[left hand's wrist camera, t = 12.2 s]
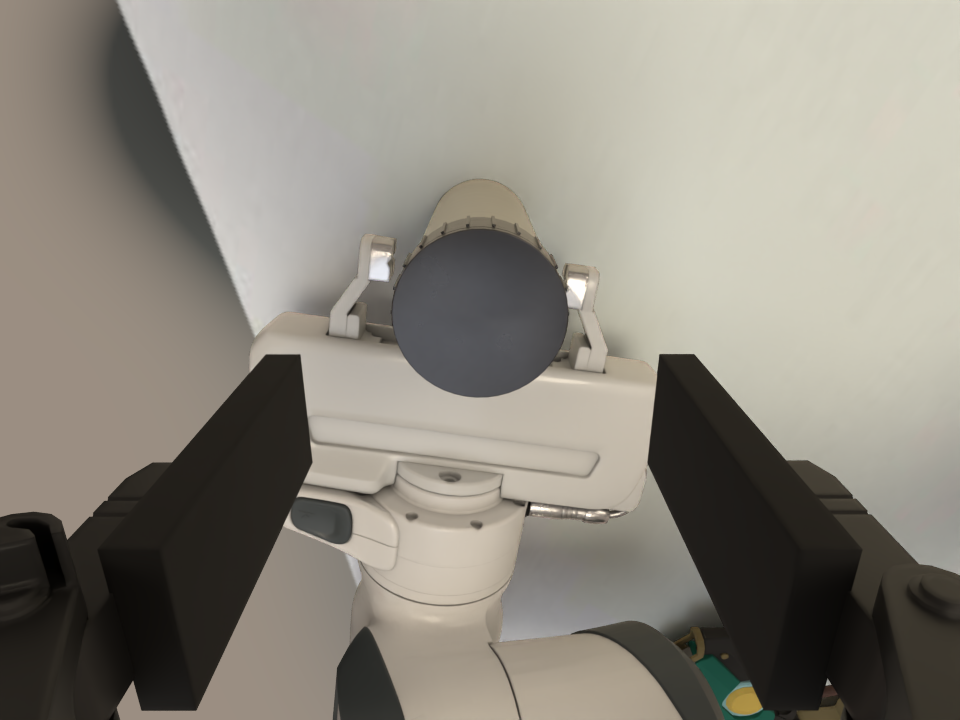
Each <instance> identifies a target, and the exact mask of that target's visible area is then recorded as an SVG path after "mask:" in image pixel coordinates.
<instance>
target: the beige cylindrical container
mask: <svg viewBox="0 0 960 720" xmlns="http://www.w3.org/2000/svg"><path fill="white" fill-rule="evenodd" d="M469 215H470V218H471V217H488V218H491V217H492V216H495V218H496V219H500V220H504V221H507V222H509V223H512V224H515V223H518V225H519V227H520V228H522V229H524V230H525V231H527V232H528V233H529V234H531V235H532V236H533V237H535V236H536V234H535V231H534V229H533V227H532V225H531V222H530V220H529V218H528V215H527V213H526V211H525V208H524V206H523V204H522V203H521V201H520V200H519V198H518V197H517V196H516V195H515V194H514V193H513V192H512V191H511V190H510V189H509V188H507V187H506V186H504V185H502V184H500V183H498V182H495V181H491V180H486V179H474V180H468V181H465V182H462V183H460V184H458V185H456V186H454V187H453V188H451V189H450V190H449V191H448V192H446V194H445V195H444V196H443V197H442V198H441V200H440V201H439V202H438V204H437V206H436V208H435V211H434V213H433V215H432V217H431V220H430V222H429V224H428V227H427V229H426V231H425V234H424V235H426V236H428V235H429V234H430V233H432V232H433V231H435V230H436V229H438V228H440V227H441V226H443V223H445V222H446V223H447V224H448V223H450V222H453V221H457V220H460V219H465V218H467V216H469Z"/></svg>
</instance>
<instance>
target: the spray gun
mask: <svg viewBox="0 0 960 720" xmlns="http://www.w3.org/2000/svg"><path fill="white" fill-rule="evenodd" d="M694 638H695V641H690V640H692V639H694ZM688 641H690V642H689V643H688V645H689V647H688V646H687V645H686V644H685V643H686V642H688ZM673 643H674V644H675V645H677V646H678V647H679V648H680V649H681V650H682V651H683V652H684V653H685V654H686V655H687V656H688V657H689V658H690V659H691V660H692V661H693V662H694V663H695V664H696V666H697V667H698V668H699V669H700V671H701V672H702V673H703V675H704V677H705V678H706V680H707V681H708V683H709V685H710V687H711V689H712V691H713V693H714V695H715V697H716V699H717V701H718V704H719V706H720V708H721V711H722V713H723V716H724V719H725V720H840V718H841V715H842V711H843V708H844V704H843V703H842V701H841V699H840V698H839V699H838V700H837V703H836V704H835V705H834V706H828V707H820V708H819V710H818V711H764V710H763V708H762V706H761V704H760V702H759V700H758V697H757V695H756V693H755V691H754V689H753V687H752V685H751V683H750V680H749V678H748V676H747V674H746V672H745V670H744V668H743V665H742V663H741V661H740V659H739V657H738V655H737V653H736V651H735V648H734V646H733V644H732V642H731V640H730V638H729V636H728V634H727V631H726V629H725V628H700V629H699V627H691V629H690V633H689V634H688V635H686V636H684V637H682V638H681V639H679V640H677V641H675V642H673ZM835 695H838V694H837V693H836V691H835V689H834V688H833V686H832V685H828V686H825V689H824V692H823V696H822V698H825V697H830V696H835Z"/></svg>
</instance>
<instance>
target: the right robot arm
mask: <svg viewBox="0 0 960 720" xmlns="http://www.w3.org/2000/svg"><path fill="white" fill-rule="evenodd" d="M396 245H397V239H396V238H391V237H384V236H378V235H373V234H365V235H364V236H363V237H362V239H361V243H360V248H359V260H358V273H357V275H356V276H355V278H354V279H353V281H352V282H351V283H350V285H349V286H348V287H347V289H346V290H345V292H344V293H343V294H342V296H341V297H340V298H339V300H338V301H337V303H336V304H335V305H334V307H333V308H332V309H331V311H330V317H324V316H317V315H310V314H303V313H296V312H284V313H281V314H280V315H278V316H277V317H276V318H275V319H273V320H272V321H271V322H270V323H269V324H267V325H266V326H265V327H264V328H263V329H262V330H261V331H260V333H259V334H258V335H257V336H256V338H255V339H254V341H253V343H252V345H251V348H250V353H249V373H250V372H251V371H252V370H253V368H254V367H255V366H256V365H257V364H258V363H259V362H260V360H261V359H262V358H263V357H264V356H265V355H266V354H300V355H301V363H302V372H303V381H304V390H305V399H306V408H307V416H308V425H309V434H310V443H311V452H312V461H313V463H312V465H311V467H310V469H309V472H308V474H307V476H306V478H305V480H304V482H303V484H302V487H301V489H300V491H299V493H298V495H297V497H296V499H295V501H294V504H293V506H292V508H291V510H290V512H289V514H288V516H287V518H286V521H285V523H284V525H283V527H285V528H288V529H290V530H293V531H295V532H298V533H300V534H303V535H306V536H308V537H311V538H313V539H315V540H318V541H320V542H323V543H325V544H327V545H330V546H332V547H334V548H336V549H338V550H340V551H342V552H344V553H346V554H348V555H350V556H352V557H354V558H356V559H358V563H359V567H360V571H361V574H362V579H361V582H360V584H359V586H358V588H357V590H356V593H355V596H354V600H353V604H352V613H351V627H350V645H349V647H348V649H347V651H346V652H345V654H344V656H343V658H342V660H341V662H340V663H339V665H338V667H337V677H336V689H335V700H334V712H333V720H725V719H724V716H723V713H722V711H721V708H720V706H719V704H718V701H717V699H716V697H715V695H714V693H713V691H712V689H711V687H710V685H709V683H708V681H707V680H706V678H705V677H704V675H703V673H702V672H701V671H700V669H699V668H698V667H697V666H696V664H695V663H694V662H693V661H692V660H691V659H690V658H689V657H688V656H687V655H686V654H685V653H684V652H683V651H682V650H681V649H680V648H679V647H678V646H677V645H675V644H674V643H673V642H672V641H671V640H669V639H668V638H667V637H665V636H664V635H663V634H661V633H660V632H658V631H657V630H656V629H654V628H652V627H651V626H649V625H647V624H644V623H642V622H638V621H625V622H620V623H615V624H611V625H606V626H601V627H597V628H592V629H587V630H582V631H578V632H575V633H572V634H570V635H563V636H553V637H544V638H535V639H525V640H516V641H506V642H499V640H500V635H501V631H502V623H503V610H502V602H501V596H502V594H503V593H504V591H505V590H506V588H507V586H508V585H509V583H510V580H511V578H512V575H513V572H514V567H515V563H516V558H517V553H518V549H519V544H520V539H521V534H522V530H523V525H524V518H525V517H526V516H534V517H542V518H550V519H573V520H574V519H575V520H581V521H583V522H585V523H590V524H605V523H607V522H608V520H609V518H616V517H620V516H623V515H625V514H627V513H628V512H631V511H633V510H635V508H636V507H637V506H638V504H639V502H640V499H641V496H642V492H643V489H644V485H645V482H646V476H647V469H646V467H647V465H648V463H647V461H648V452H649V443H650V434H651V425H652V416H653V408H654V399H655V390H656V381H657V374H656V373H655V371H654V370H653V369H652V368H651V366H650V365H649V364H648V363H646V362H644V361H640V360H634V359H626V358H619V357H612V356H607V352H608V349H607V346H606V343H605V340H604V337H603V334H602V331H601V328H600V325H599V323H598V320H597V317H596V314H595V311H594V310H593V307H594V302H595V298H596V293H597V288H598V284H599V272H598V270H597V269H596V267H591V266H584V265H577V264H569V263H565V265H564V267H563V272H562V276H563V278H564V280H563V282H564V284H565V286H566V288H567V291H566V295H567V300H568V308H572V309H577V311H578V314H579V317H580V320H581V323H582V325H583V328H584V331H585V335H583V333H578V332H575V333H574V334H573V336H572V340H571V345H570V349H569V350H562V349H560V350H559V352H558V354H557V355H556V357H555V359H554V360H553V362H552V363H551V364H550V365H549V366H548V368H547V369H546V370H545V371H544V372H543V373H542V374H541V375H540V376H539V377H537V378H536V379H535V380H533V381H532V382H530V383H529V384H527V385H526V386H524V387H522V388H520V389H518V390H515V391H513V392H510V393H507V394H504V395H500V396H494V397H485V398H475V397H465V396H461V395H456V394H453V393H450V392H447V391H444V390H442V389H440V388H438V387H436V386H434V385H433V384H431V383H430V382H428V381H427V380H425V379H424V378H423V377H422V376H420V375H419V374H418V373H417V372H416V371H415V370H414V369H413V368H412V367H411V365H410V364H409V363H408V362H407V360H406V359H405V357H404V356H403V354H402V352H401V350H400V348H399V346H398V344H397V341H396V338H395V335H394V331H393V326H389V325H382V324H375V323H367V322H366V315H367V304H366V303H364V302H357V303H355V302H356V301H357V299H358V298H359V297H360V295H361V294H362V293H363V291H364V290H365V288H366V287H367V286H368V284H369V283H370V282H371V280H374V281H383V282H389V281H390V279H391V276H392V275H393V273H394V266H395V258H394V257H393V254H394V253H395V251H396ZM609 509H610V510H612V511H609Z"/></svg>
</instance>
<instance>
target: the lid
mask: <svg viewBox="0 0 960 720" xmlns="http://www.w3.org/2000/svg"><path fill="white" fill-rule="evenodd" d="M403 267H404V269H403V271H402V273H401V274H400V275H399V277H398V279H397V281H396V283H395V285H394V288H393V290H395V291H394V295H393V300H392V309H391V316H392V326H393V331H394V335H395V338H396V341H397V344H398V346H399V348H400V350H401V352H402V354H403V356H404V357H405V359H406V360H407V362H408V363H409V364H410V365H411V367H412V368H413V369H414V370H415V371H416V372H417V373H418V374H419V375H420V376H422V377H423V378H424V379H425V380H427V381H428V382H430V383H431V384H433V385H434V386H436V387H438V388H440V389H442V390H444V391H447V392H450V393H453V394H456V395H461V396H465V397H475V398H485V397H494V396H500V395H504V394H507V393H510V392H513V391H515V390H518V389H520V388H522V387H524V386H526V385H527V384H529V383H530V382H532V381H533V380H535V379H536V378H537V377H539V376H540V375H541V374H542V373H543V372H544V371H545V370H546V369H547V368H548V366H549V365H550V364H551V363H552V362H553V360H554V359H555V357H556V355H557V354H558V352H559V350H560V348H561V346H562V344H563V341H564V338H565V335H566V331H567V325H568V316H569V310H568V300H567V295H566V291H567V288H566V286H565V284H564V282H563V280H562V277H561V276H559V273H558V271H557V268H558V266H557V264H556V262H555V260H554V258H553V256H552V254H550V255H549V254H548V252H547V251H546V250H545V248H544V247H543V246H542V244H541V243H540V241H539V239H538V237H537V236H535V237H533V236H532V235H531V234H529V233H528V232H527V231H525V230H524V229H522V228H520V227H519V225H518V223H515V224H512V223H509V222H507V221H504V220H500V219H496V218H495V216H492V217H491V218H488V217H471V218H470V215H469V216H467V218H465V219H460V220H457V221H453V222H450V223H448V224H447V223H446V222H445V223H443V226H441V227H440V228H438V229H436V230H435V231H433V232H432V233H430V234H429V235H428V236H426V235H424V236H423V238H422V240H421V242H420V244H419V245H418V246H417V247H416V248H415V250H414V251H413V252H412V254H411V253H409V254H408V256H407V258H406V260H405V262H404V264H403Z"/></svg>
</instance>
